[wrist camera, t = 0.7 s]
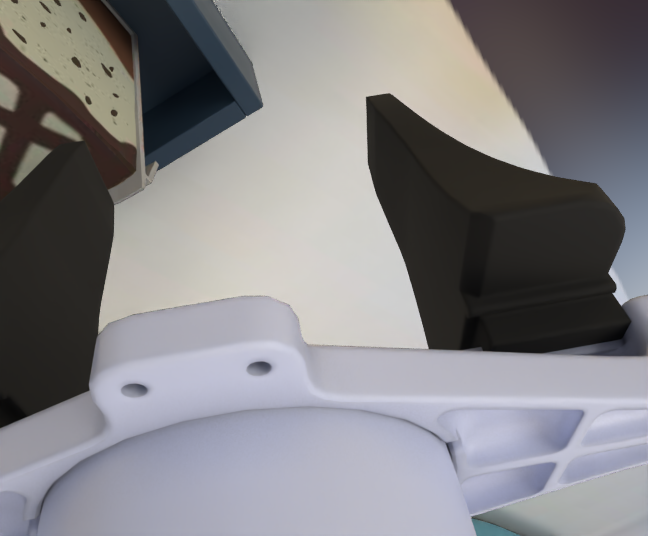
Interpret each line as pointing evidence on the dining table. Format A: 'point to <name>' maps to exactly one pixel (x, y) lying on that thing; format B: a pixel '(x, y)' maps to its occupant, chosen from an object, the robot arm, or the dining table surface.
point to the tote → (187, 75)
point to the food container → (71, 91)
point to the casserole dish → (490, 529)
